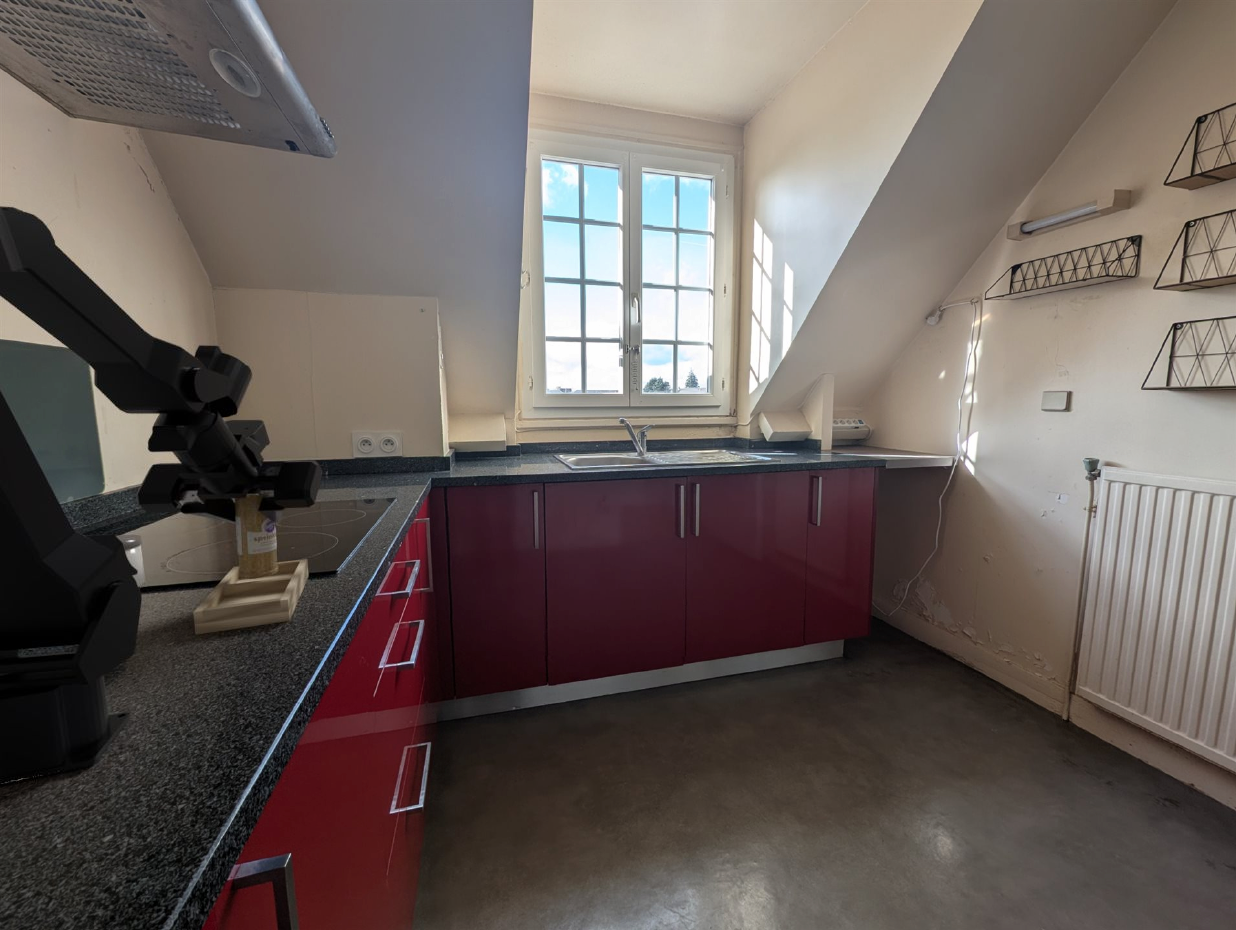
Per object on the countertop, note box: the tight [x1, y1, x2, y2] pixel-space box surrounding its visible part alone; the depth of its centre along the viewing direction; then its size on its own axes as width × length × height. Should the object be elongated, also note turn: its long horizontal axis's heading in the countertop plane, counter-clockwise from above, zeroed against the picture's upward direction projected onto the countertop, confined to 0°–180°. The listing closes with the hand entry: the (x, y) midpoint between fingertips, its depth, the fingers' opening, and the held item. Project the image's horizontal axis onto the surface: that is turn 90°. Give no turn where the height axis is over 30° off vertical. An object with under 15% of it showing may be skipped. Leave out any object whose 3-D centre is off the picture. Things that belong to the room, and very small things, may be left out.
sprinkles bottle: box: [234, 493, 278, 579], centre depth 69 cm, size 5×5×14 cm
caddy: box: [192, 558, 309, 635], centre depth 68 cm, size 17×9×3 cm, turn 25°
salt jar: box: [115, 534, 146, 587], centre depth 72 cm, size 6×6×7 cm
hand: (261, 520), depth 71 cm, fingers closed on sprinkles bottle, 4 cm apart
